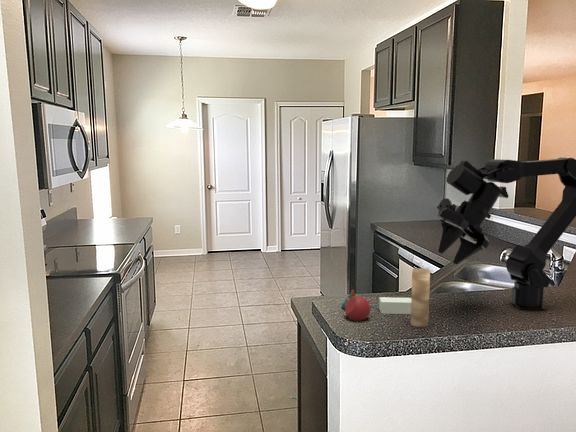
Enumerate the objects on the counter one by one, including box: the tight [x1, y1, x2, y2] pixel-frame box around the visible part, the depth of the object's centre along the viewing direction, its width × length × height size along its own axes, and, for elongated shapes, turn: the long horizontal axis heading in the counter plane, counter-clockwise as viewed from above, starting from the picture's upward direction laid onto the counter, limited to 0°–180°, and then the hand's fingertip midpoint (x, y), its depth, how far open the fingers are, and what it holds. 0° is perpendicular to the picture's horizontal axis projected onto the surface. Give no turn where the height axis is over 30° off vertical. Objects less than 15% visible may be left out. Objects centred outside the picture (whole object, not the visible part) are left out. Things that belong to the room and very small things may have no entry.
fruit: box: [344, 295, 379, 322], centre depth 120 cm, size 6×6×8 cm
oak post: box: [410, 267, 431, 328], centre depth 115 cm, size 4×4×13 cm
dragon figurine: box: [341, 289, 379, 310], centre depth 127 cm, size 6×7×8 cm
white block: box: [378, 296, 411, 315], centre depth 124 cm, size 8×4×3 cm, turn 87°
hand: (447, 258), depth 122 cm, fingers open, 9 cm apart
